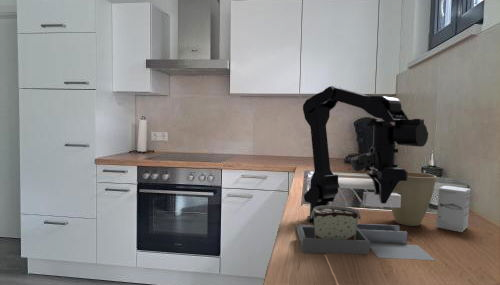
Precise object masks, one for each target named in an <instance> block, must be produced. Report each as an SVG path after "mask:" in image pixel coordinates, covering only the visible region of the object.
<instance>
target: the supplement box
mask: <svg viewBox="0 0 500 285" xmlns="http://www.w3.org/2000/svg"><path fill="white" fill-rule="evenodd" d="M470 200H471V188H467V187H458V186H454V185H452V186H451V185H442V186H440V187H439V188H438V203H437V217H436V228H437V229H438V228H440V229H444V230H449V231H454V232H457V231H458V233H461V232H463V231H464V230H465V229H466V228H467V229H468V225H469V213H470ZM467 229H466V230H467ZM466 230H465V231H466ZM465 231H464V232H465ZM464 232H463V233H464Z"/></svg>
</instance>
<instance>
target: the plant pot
mask: <svg viewBox="0 0 500 285" xmlns="http://www.w3.org/2000/svg"><path fill="white" fill-rule="evenodd" d="M406 172H407V173H408V177H407V181H400V182H398V184H397V185H396V187H395V188H394V190H393V192H392V193H397V194H399V195H401V208H398V207H390V209H391V213H392V215H393V218H394V221H395V223H396V224H398V225H399V224H400V225H402V226H408V227H409V226H410V227H419V226H421V225H422V221H423V220H424V219H425V216H426V214H427V212H428V208H429V206H430V204H431V199H432V197H433V192H434V191H435V190H434V189H435V186H436V180H437V176H436V175H434V174H429V173H425V172H424V173H423V172H413V171H406Z"/></svg>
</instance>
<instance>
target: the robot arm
mask: <svg viewBox="0 0 500 285" xmlns="http://www.w3.org/2000/svg"><path fill="white" fill-rule="evenodd" d="M338 102H340V103H342V104H343V103H344V104H345V105H349V106H353V107H356V108H360V109H362V110H363V111H364V112H366V114H368V115H371V116H372V118H371V120H369V122H367V123H366V127H372V128H373V133H372V138H373V139H372V146H370V147H369V150H368V152H367V153H362V154H358V155H356V156H353V157H350V158H349V160H350V164H351V167H352V170H354V171H356V172H359V171H363V172H366V175H367V176H368V177H369V178H370V180H371V181H372V183H373V187H374V192H378V193H380V198H381V203H384V204H385V203H386V202H387V200H388V198H389V197H390V195H391V193H392V192H393V190H394V188H395V187H396V185H397V184H398V182H400V181H407V177H408V173H407V172H408V171H406V169H405V168H402V167H398V164H397V163H396V153H397V154H398V153H399V148H396V146H397V145H399V146H407V147H408V146H409V147H420V148H422V147H425V145H426V144H427V142H428V139H429V132H428V128H427V126H426V124H425V119H424V118H413V119H410V118H409V117H408V115H407V114H406V112H405V111H404V110H403V107H402V103H401V101H400V99H399V98H396V97H390V96H382V95H367V94H363V93H359V92H356V91H351V90H348V89H344V88H342V87H340V86H334V85H332V86H328V87H326V88H325V89H324V90H322V91H320V92H318V93H316V94H314V95H312V96H311V97H310V98H307V99H306V100H305V101H304V102H303V105H302V111H303V116H304V120H305V121H306V123H307V124H308V125H309V128H310V136H311V148H312V158H313V159H312V160H313V166H314V169H313V170H314V171H313V175H312V177H311V178H310V188H308V190H307V191H306V192H305V193H304V194H303V199H304V202H305V203H308V204H309V215H307V220H308V222H309V223H312V224H314V219H313V216H312V219H311V214H312V211H313V209H314V208H315V207H318V206H326V205H329V203H333V202H334V201H335V198H336V195H338V193H339V188H340V187H341V186H340V184H339V176H338V174H334V173H333V172H332V169H331V162H330V153H329V142H328V134H327V133H328V132H327V124H328V121H329V119H330V115H331V114H330V112H331V111H332V110H333V109H334V108H335V107H336V106H337V104H338ZM380 119H381V120H380ZM393 123H394V124H393ZM396 144H397V145H396ZM367 171H369V172H368V173H367Z"/></svg>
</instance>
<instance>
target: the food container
mask: <svg viewBox="0 0 500 285" xmlns="http://www.w3.org/2000/svg"><path fill="white" fill-rule="evenodd" d="M312 216H313V219H314V223H313V225H314V234H315V238H321V239H344V240H355V238H356V231H357V224H359V220H362V219H361V218H362V217H361V213H360V211H359V210H358V209H356V208H353V207H348V206H341V205H329V204H328V205H326V206H318V207H315V208H314V209H313V211H312V214H311V219H312Z"/></svg>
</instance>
